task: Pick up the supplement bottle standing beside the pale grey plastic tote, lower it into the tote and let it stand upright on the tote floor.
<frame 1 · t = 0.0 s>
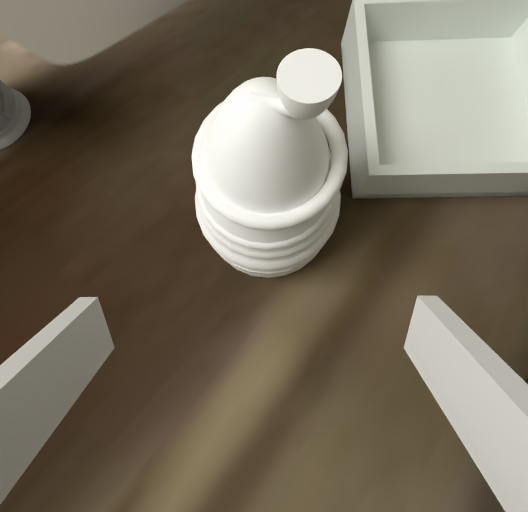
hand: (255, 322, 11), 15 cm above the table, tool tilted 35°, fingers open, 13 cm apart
white and black mug: (16, 125, 32), on the table
tote: (435, 114, 30), on the table
honey pot: (268, 218, 28), on the table
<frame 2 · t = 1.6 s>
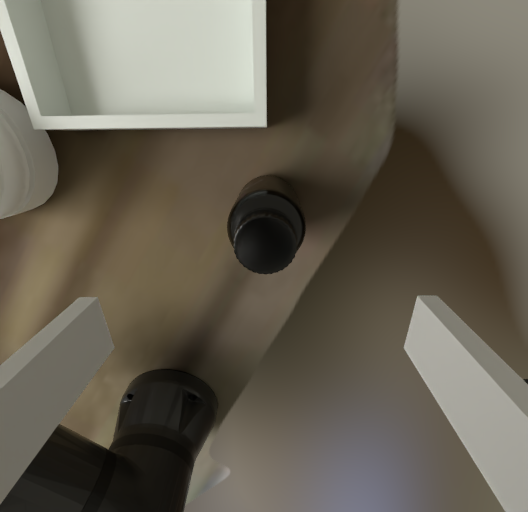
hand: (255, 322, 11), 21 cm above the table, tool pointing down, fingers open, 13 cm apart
supplement bottle: (267, 205, 30), on the table
tote: (150, 1, 23), on the table
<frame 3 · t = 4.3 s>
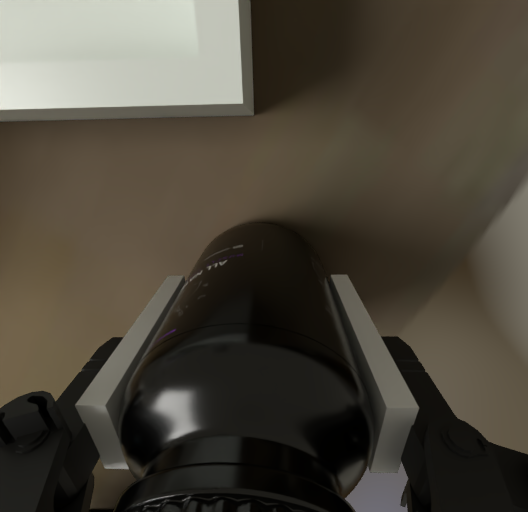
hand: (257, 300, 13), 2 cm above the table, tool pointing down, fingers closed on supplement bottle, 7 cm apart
supplement bottle: (259, 277, 15), on the table, touching gripper
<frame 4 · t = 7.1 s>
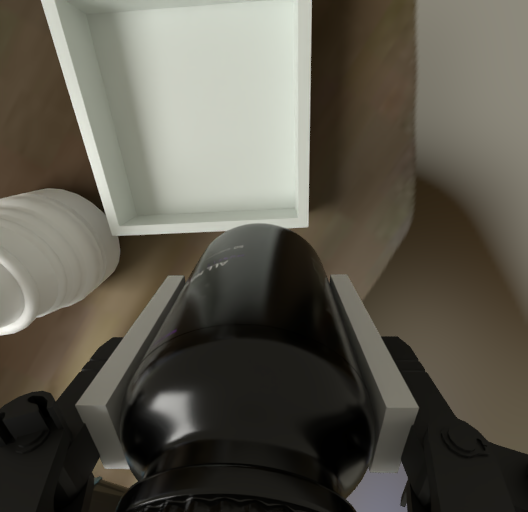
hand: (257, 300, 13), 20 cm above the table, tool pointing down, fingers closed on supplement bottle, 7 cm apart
supplement bottle: (260, 277, 15), point 17 cm above the table, touching gripper
tote: (205, 123, 27), on the table
honey pot: (69, 240, 33), on the table
when the fingers open (4 cm above the table, at t = 10.1 s): supplement bottle drops 1 cm, resting on tote.
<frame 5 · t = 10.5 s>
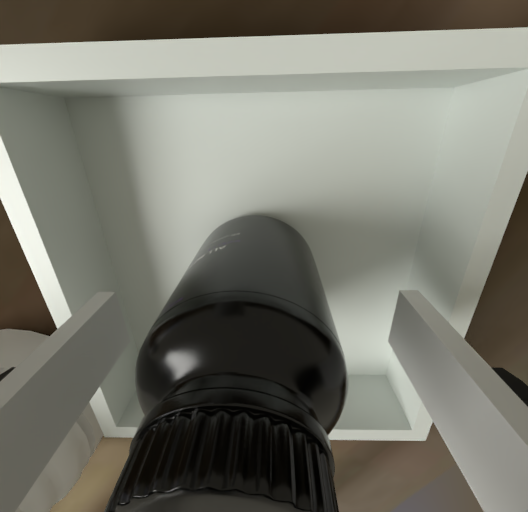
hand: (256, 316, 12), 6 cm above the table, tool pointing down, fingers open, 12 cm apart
supplement bottle: (255, 265, 16), point 1 cm above the table, touching tote
tote: (260, 259, 17), on the table
honey pot: (42, 386, 23), on the table
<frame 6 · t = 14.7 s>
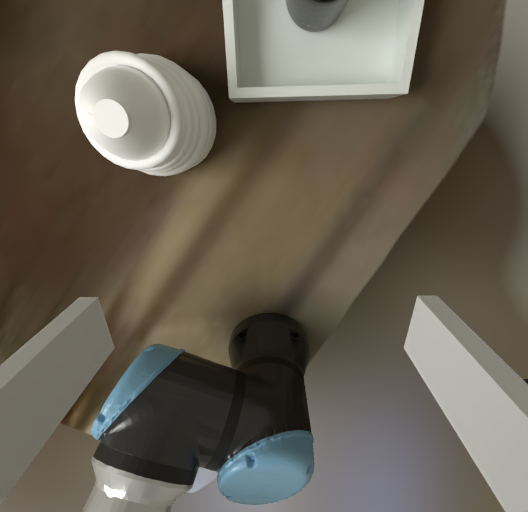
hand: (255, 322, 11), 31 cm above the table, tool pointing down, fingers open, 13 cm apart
honey pot: (169, 121, 36), on the table
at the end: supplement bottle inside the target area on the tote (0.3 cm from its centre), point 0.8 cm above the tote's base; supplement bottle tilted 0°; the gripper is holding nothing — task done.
